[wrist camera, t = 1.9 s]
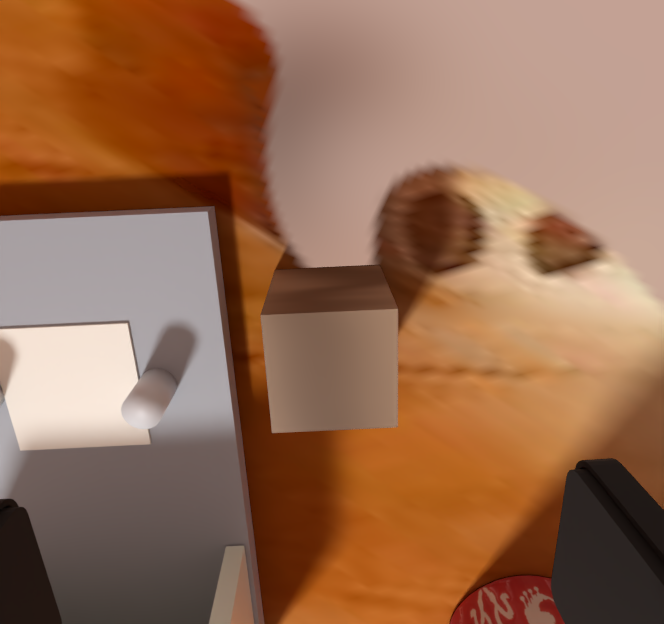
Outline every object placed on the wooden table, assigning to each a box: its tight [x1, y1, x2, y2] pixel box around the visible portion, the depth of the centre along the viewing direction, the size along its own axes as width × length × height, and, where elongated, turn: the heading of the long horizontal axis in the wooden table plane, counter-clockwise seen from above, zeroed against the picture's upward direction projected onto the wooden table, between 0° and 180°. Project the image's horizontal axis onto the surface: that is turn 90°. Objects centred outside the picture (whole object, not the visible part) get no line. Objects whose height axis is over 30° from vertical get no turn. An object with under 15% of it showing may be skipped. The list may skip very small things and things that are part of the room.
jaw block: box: [261, 265, 398, 433], centre depth 18 cm, size 4×4×5 cm
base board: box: [0, 206, 264, 624], centre depth 21 cm, size 16×23×3 cm
